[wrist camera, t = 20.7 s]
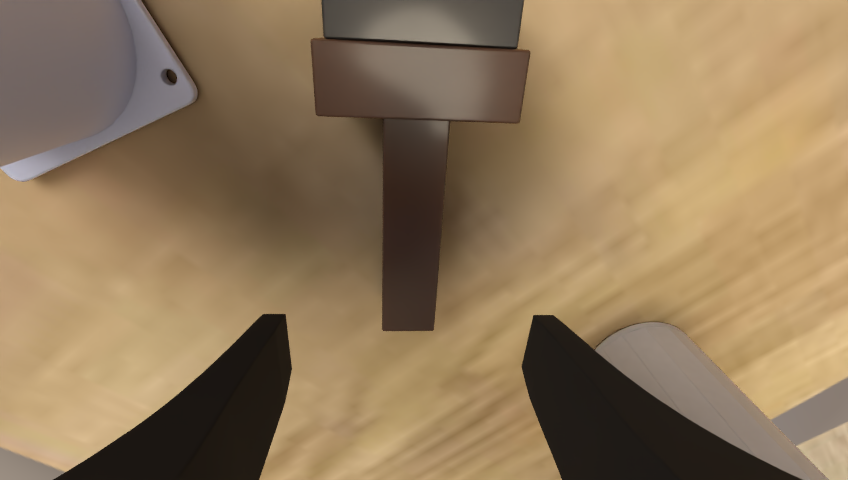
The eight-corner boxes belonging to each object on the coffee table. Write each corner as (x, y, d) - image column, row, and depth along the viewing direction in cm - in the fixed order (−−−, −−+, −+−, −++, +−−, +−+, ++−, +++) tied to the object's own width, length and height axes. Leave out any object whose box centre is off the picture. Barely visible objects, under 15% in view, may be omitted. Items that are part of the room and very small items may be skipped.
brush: (343, 296, 19) (332, 356, 16) (327, -14, 13) (305, -30, 10) (467, 295, 20) (484, 353, 16) (503, -2, 14) (541, -14, 10)
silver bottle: (574, 345, 22) (752, 647, 11) (685, 306, 21) (989, 588, 10) (595, 414, 24) (754, 710, 14) (694, 381, 24) (943, 666, 13)
